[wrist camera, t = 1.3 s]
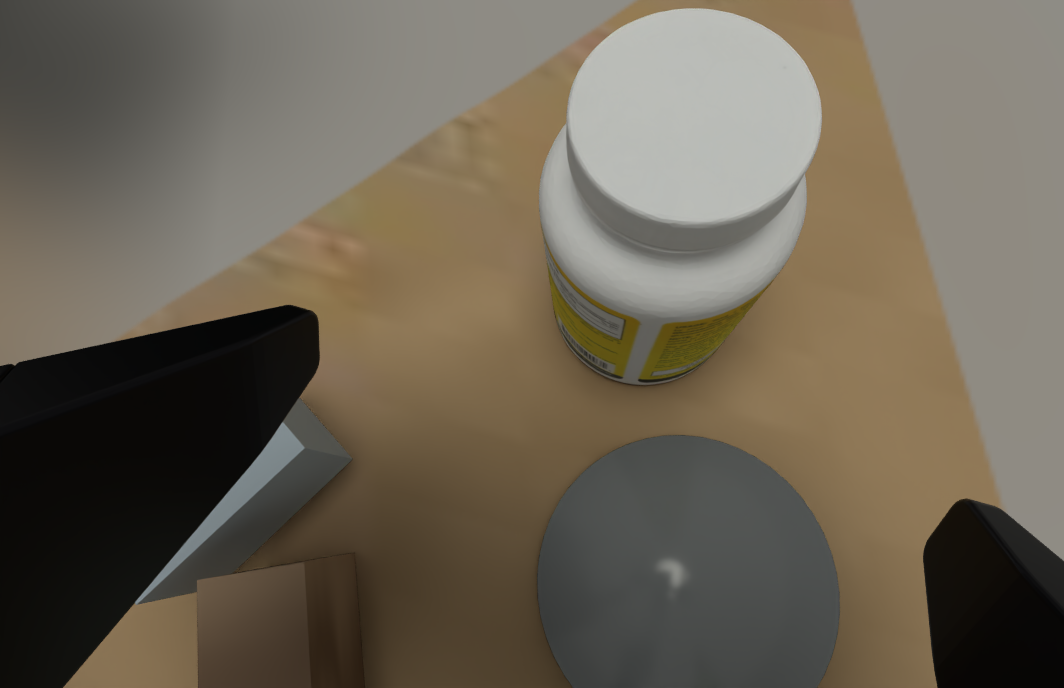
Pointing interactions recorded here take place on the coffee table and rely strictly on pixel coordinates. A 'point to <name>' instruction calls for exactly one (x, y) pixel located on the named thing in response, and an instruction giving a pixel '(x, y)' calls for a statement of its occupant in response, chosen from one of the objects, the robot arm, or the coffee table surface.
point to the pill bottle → (675, 189)
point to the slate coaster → (687, 573)
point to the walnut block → (281, 627)
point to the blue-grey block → (255, 504)
